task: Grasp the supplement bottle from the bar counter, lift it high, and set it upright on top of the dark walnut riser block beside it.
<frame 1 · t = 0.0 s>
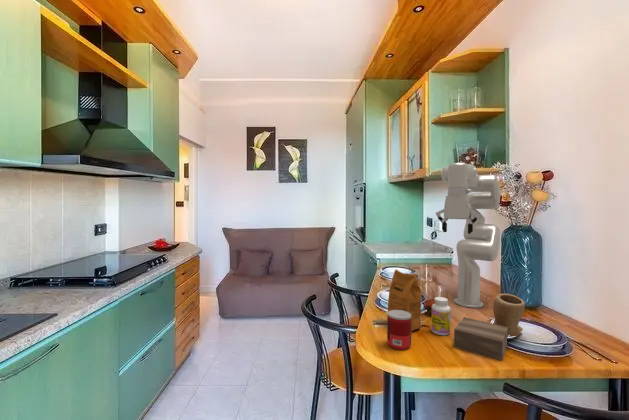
hand: (456, 232, 124), 37 cm above the table, tool pointing down, fingers open, 9 cm apart
riser: (481, 345, 101), on the table
supplement bottle: (440, 332, 112), on the table
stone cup: (506, 334, 110), on the table
coffee package: (403, 326, 117), on the table
canned food: (399, 345, 101), on the table
pomegranate: (432, 315, 129), on the table
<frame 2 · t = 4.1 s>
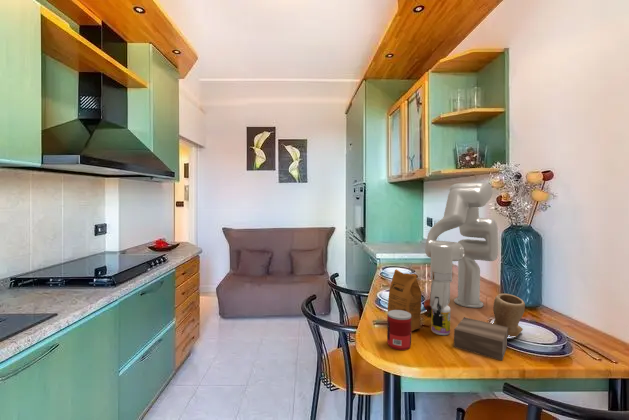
hand: (440, 322, 111), 4 cm above the table, tool pointing down, fingers closed on supplement bottle, 6 cm apart
supplement bottle: (440, 332, 112), on the table, touching gripper
everything else where it was.
when the fingers open (11 cm above the table, at t = 10.2 s): supplement bottle drops 1 cm, resting on riser.
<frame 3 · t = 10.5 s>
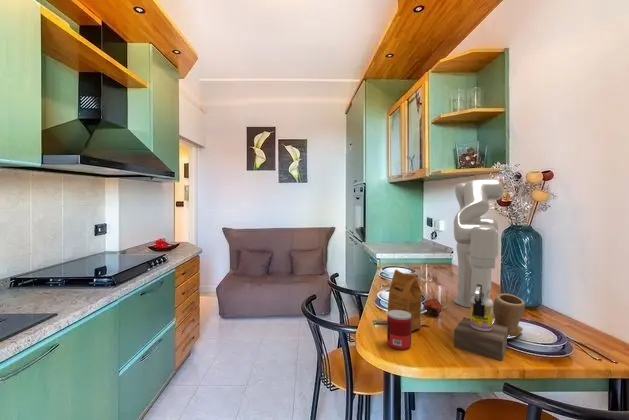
hand: (481, 311, 101), 12 cm above the table, tool pointing down, fingers open, 9 cm apart
supplement bottle: (481, 328, 101), point 6 cm above the table, touching riser
everything else where it was.
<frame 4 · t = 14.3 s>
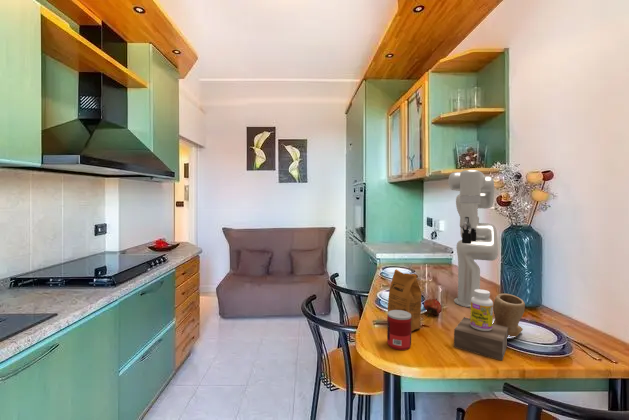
hand: (469, 242, 120), 33 cm above the table, tool pointing down, fingers open, 9 cm apart
nothing on the table moved.
at the end: supplement bottle inside the target area on the riser (0.3 cm from its centre), point 5.8 cm above the riser's base; supplement bottle tilted 0°; the gripper is holding nothing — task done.
